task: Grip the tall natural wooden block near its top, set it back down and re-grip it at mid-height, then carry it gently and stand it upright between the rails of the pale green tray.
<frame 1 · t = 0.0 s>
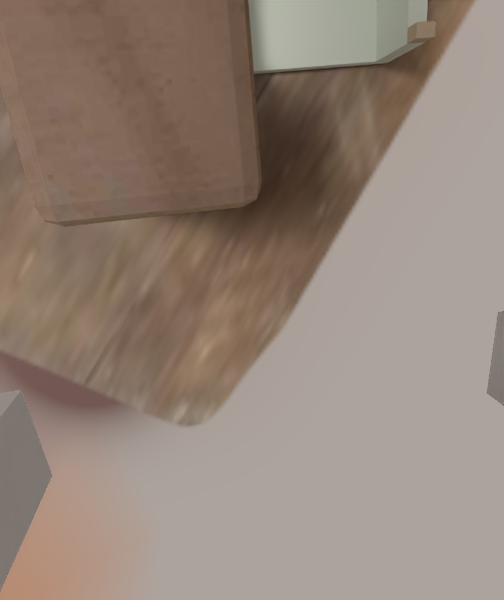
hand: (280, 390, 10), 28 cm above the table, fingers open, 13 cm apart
wooden block: (164, 133, 33), on the table
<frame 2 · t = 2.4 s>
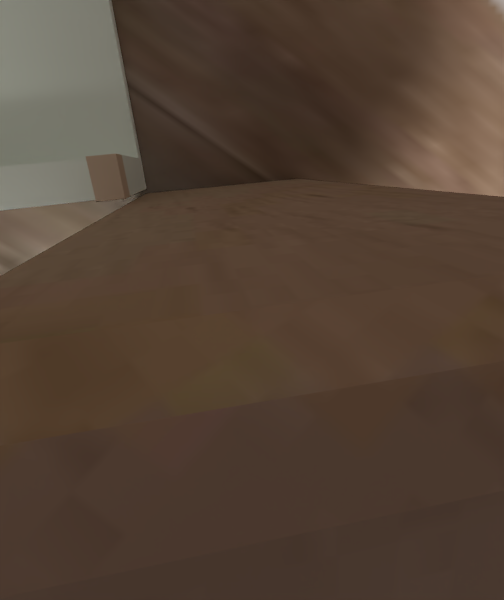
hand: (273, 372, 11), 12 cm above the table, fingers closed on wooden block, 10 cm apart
wooden block: (231, 271, 22), on the table, touching gripper
when the fingers open (12 cm above the table, at t = 4.3 s): wooden block stays where it is, on the table.
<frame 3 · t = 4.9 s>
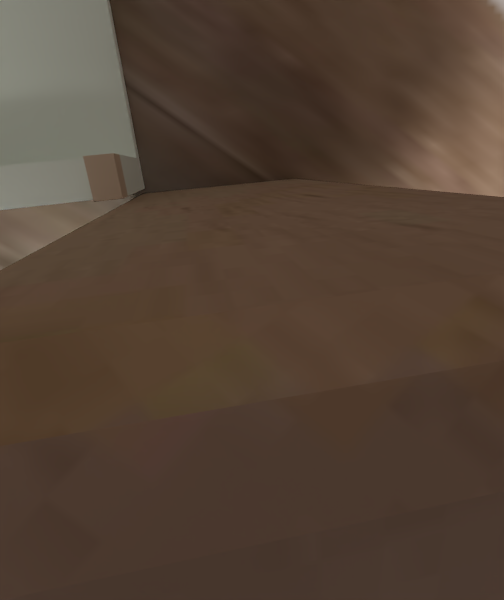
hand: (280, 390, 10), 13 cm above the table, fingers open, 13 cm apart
wooden block: (228, 271, 22), on the table
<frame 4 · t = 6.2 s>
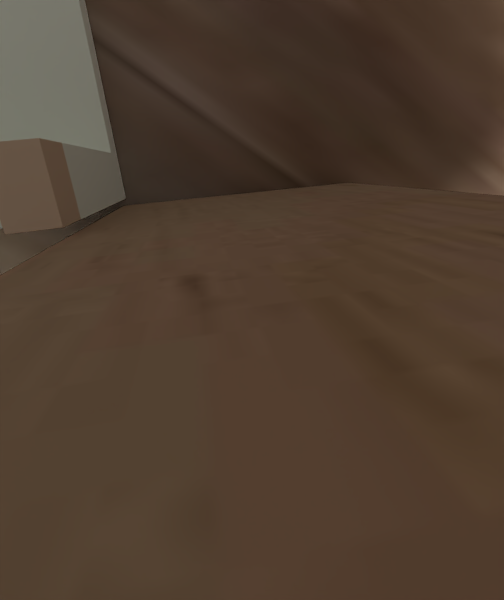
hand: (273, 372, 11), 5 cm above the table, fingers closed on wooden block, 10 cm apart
wooden block: (248, 313, 16), on the table, touching gripper
when the fingers open (7 cm above the table, at t = 12.7 s): wooden block drops 1 cm, resting on pale green tray.
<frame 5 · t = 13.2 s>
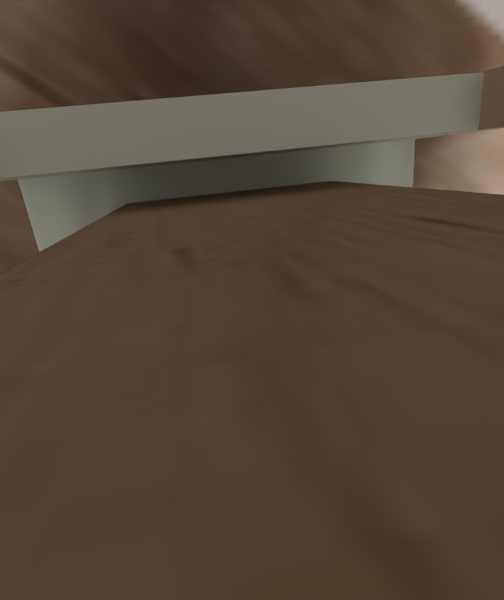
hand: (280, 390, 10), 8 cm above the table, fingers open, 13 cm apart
wooden block: (242, 302, 17), point 1 cm above the table, touching pale green tray
pale green tray: (241, 296, 18), on the table
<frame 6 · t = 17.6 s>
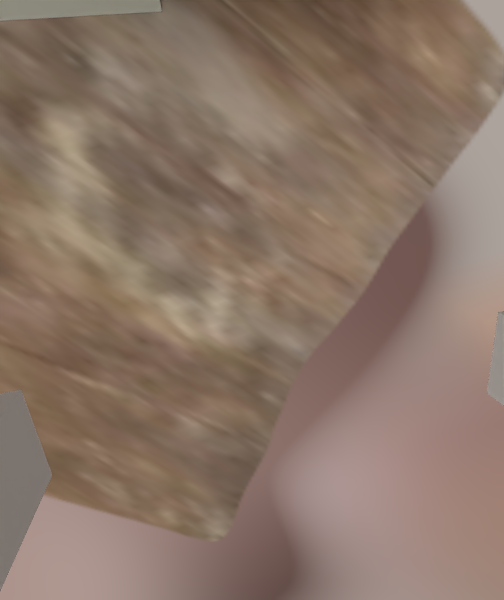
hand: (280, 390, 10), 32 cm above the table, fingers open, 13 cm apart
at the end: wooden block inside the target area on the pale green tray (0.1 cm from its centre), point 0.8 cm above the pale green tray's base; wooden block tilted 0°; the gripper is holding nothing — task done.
